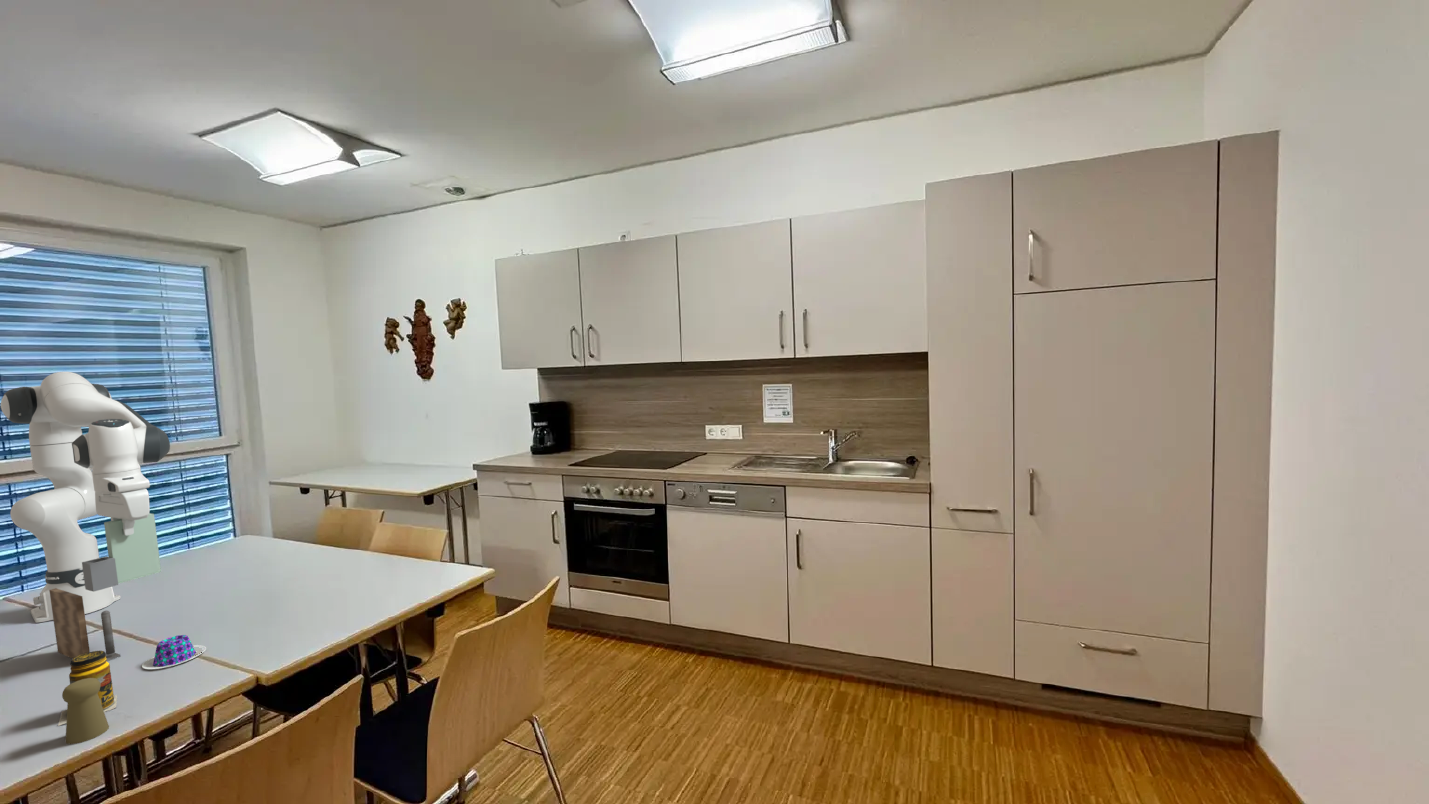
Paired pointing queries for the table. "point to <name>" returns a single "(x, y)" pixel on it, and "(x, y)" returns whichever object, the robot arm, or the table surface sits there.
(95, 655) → the condiment
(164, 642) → the purple domed brimmed piece
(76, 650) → the cabinet side
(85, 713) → the cork
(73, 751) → the table surface
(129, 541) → the door
